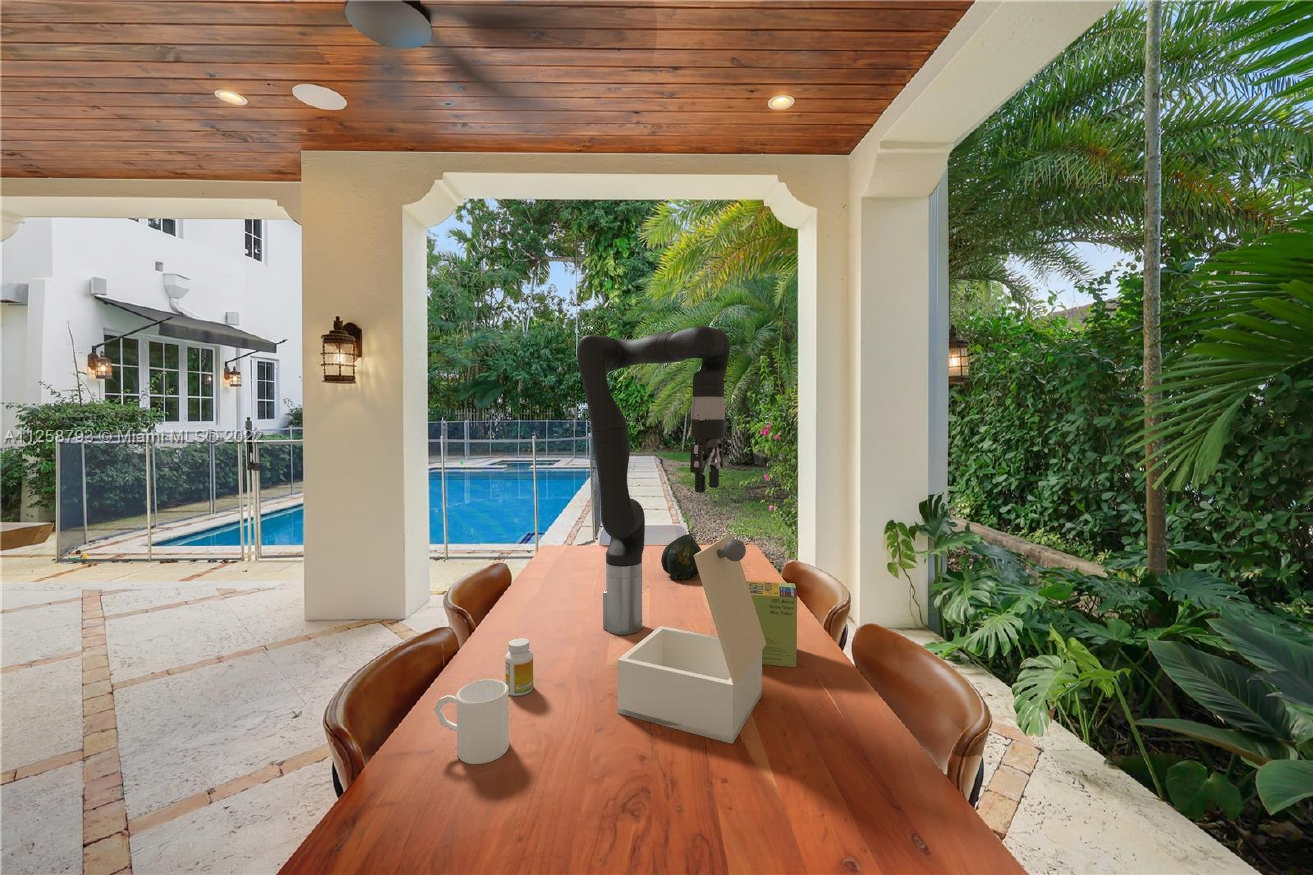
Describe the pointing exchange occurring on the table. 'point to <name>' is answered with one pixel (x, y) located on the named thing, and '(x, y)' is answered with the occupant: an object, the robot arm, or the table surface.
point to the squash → (681, 557)
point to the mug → (479, 720)
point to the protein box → (777, 621)
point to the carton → (686, 684)
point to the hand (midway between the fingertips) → (707, 489)
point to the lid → (731, 604)
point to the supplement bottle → (519, 667)
